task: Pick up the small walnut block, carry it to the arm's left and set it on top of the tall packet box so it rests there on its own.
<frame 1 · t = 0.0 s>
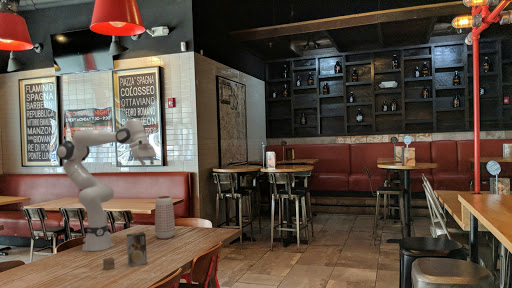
hand: (148, 164, 223), 52 cm above the table, tool tilted 20°, fingers open, 8 cm apart
coffee box: (137, 264, 199), on the table
walnut block: (109, 268, 192), on the table
grey textured vase: (165, 237, 255), on the table
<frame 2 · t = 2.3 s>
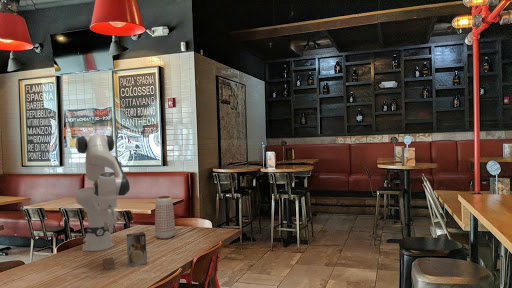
hand: (108, 230, 193), 20 cm above the table, tool pointing down, fingers open, 8 cm apart
nothing on the table moved.
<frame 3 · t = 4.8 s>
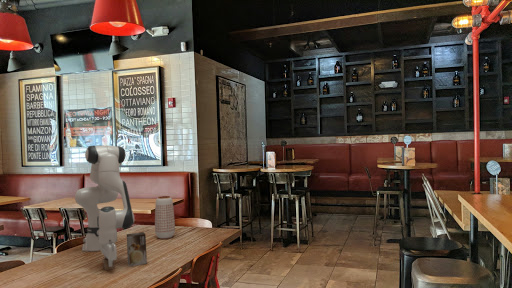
hand: (108, 265, 192), 2 cm above the table, tool pointing down, fingers closed on walnut block, 4 cm apart
walnut block: (108, 268, 192), on the table, touching gripper
everything else where it was.
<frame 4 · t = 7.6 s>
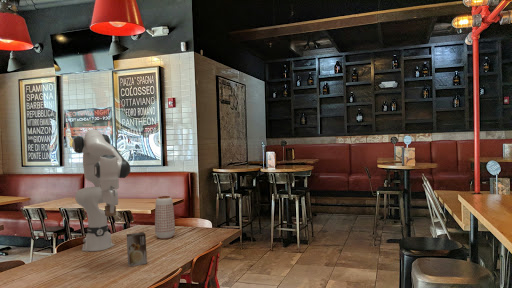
hand: (110, 212, 193), 29 cm above the table, tool pointing down, fingers closed on walnut block, 4 cm apart
walnut block: (110, 215, 193), point 27 cm above the table, touching gripper
everything else where it was.
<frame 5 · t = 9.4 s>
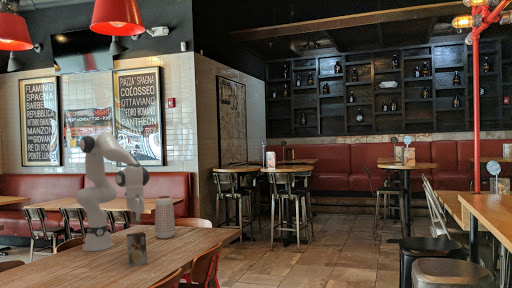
hand: (135, 219, 199), 24 cm above the table, tool pointing down, fingers closed on walnut block, 4 cm apart
walnut block: (135, 222, 199), point 22 cm above the table, touching gripper
everything else where it was.
when the fingers open (19 cm above the table, at t = 10.6 s): walnut block drops 1 cm, resting on coffee box.
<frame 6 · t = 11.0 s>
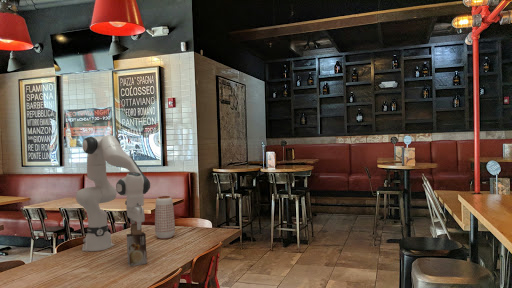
hand: (136, 228, 199), 19 cm above the table, tool pointing down, fingers open, 8 cm apart
coffee box: (137, 264, 199), on the table, touching walnut block
walnut block: (136, 233, 199), point 16 cm above the table, touching coffee box
everything else where it was.
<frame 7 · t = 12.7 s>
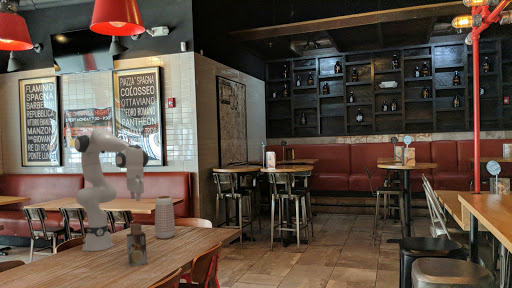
hand: (135, 200, 202), 34 cm above the table, tool pointing down, fingers open, 8 cm apart
nothing on the table moved.
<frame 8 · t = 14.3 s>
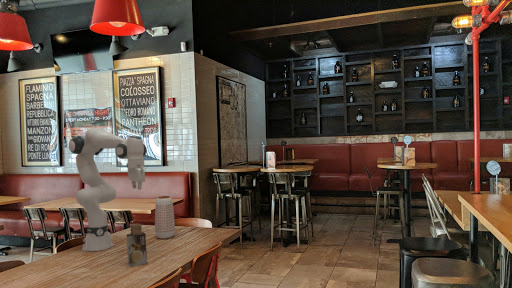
hand: (136, 189, 209), 39 cm above the table, tool pointing down, fingers open, 8 cm apart
nothing on the table moved.
at the end: walnut block inside the target area on the coffee box (0.0 cm from its centre), point 16.2 cm above the coffee box's base; walnut block touching coffee box; coffee box tilted 0° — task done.
